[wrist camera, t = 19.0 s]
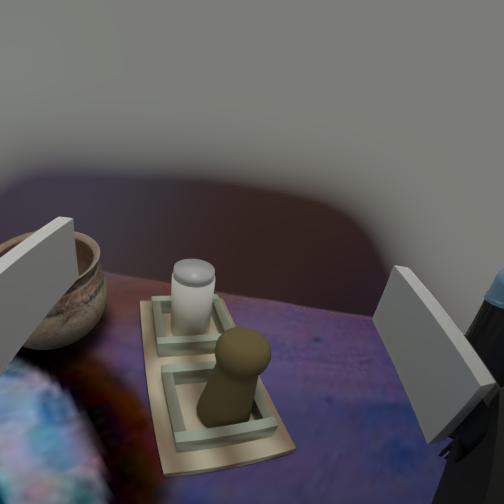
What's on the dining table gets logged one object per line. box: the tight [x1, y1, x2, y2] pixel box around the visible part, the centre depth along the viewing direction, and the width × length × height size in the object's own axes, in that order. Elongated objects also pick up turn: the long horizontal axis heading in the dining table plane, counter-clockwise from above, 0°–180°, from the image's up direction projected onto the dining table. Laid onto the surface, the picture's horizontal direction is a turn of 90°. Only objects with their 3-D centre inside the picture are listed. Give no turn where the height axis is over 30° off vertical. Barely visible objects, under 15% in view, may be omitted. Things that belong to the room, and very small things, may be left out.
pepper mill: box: [196, 327, 271, 428], centre depth 27 cm, size 6×6×11 cm
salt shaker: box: [171, 259, 215, 337], centre depth 39 cm, size 6×6×10 cm
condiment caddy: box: [140, 294, 296, 477], centre depth 35 cm, size 14×29×4 cm, turn 20°
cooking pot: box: [0, 231, 108, 350], centre depth 33 cm, size 25×19×12 cm
